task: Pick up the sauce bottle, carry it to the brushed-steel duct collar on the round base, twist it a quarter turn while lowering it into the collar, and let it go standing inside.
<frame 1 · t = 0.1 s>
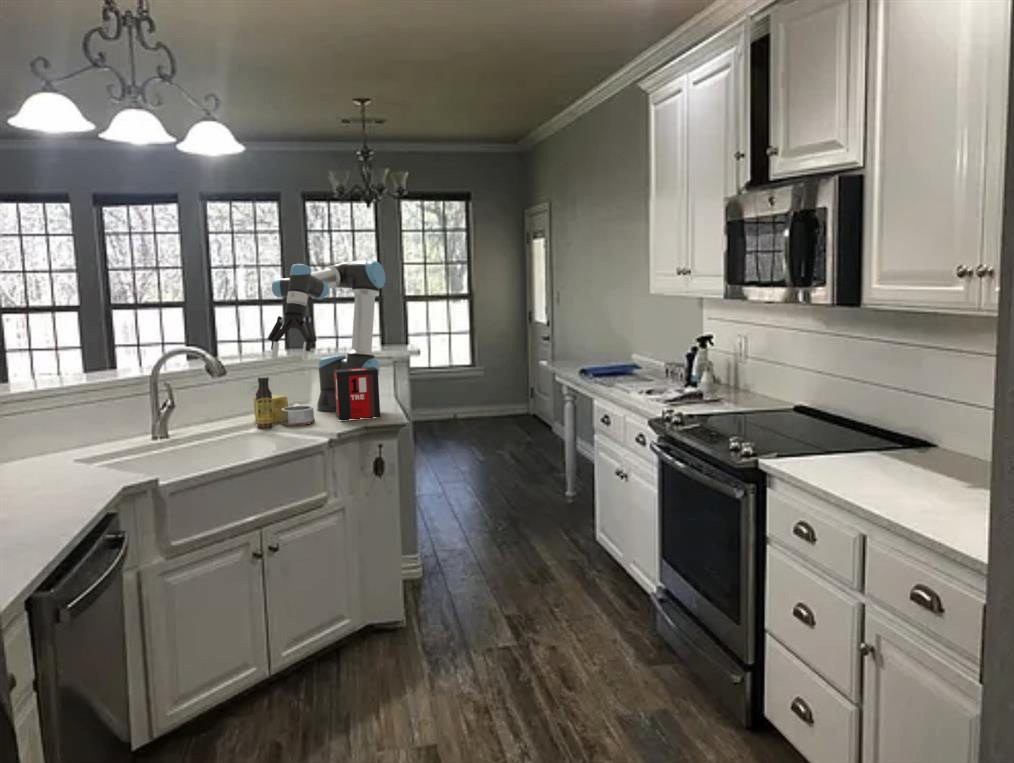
hand: (289, 359, 323), 28 cm above the worktop, tool tilted 20°, fingers open, 13 cm apart
duct collar: (297, 414, 345), on the duct base, point 4 cm above the worktop
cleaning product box: (358, 418, 352), on the worktop
sauce bottle: (265, 427, 339), on the worktop
cheese: (271, 420, 353), on the worktop
duct base: (298, 422, 345), on the worktop
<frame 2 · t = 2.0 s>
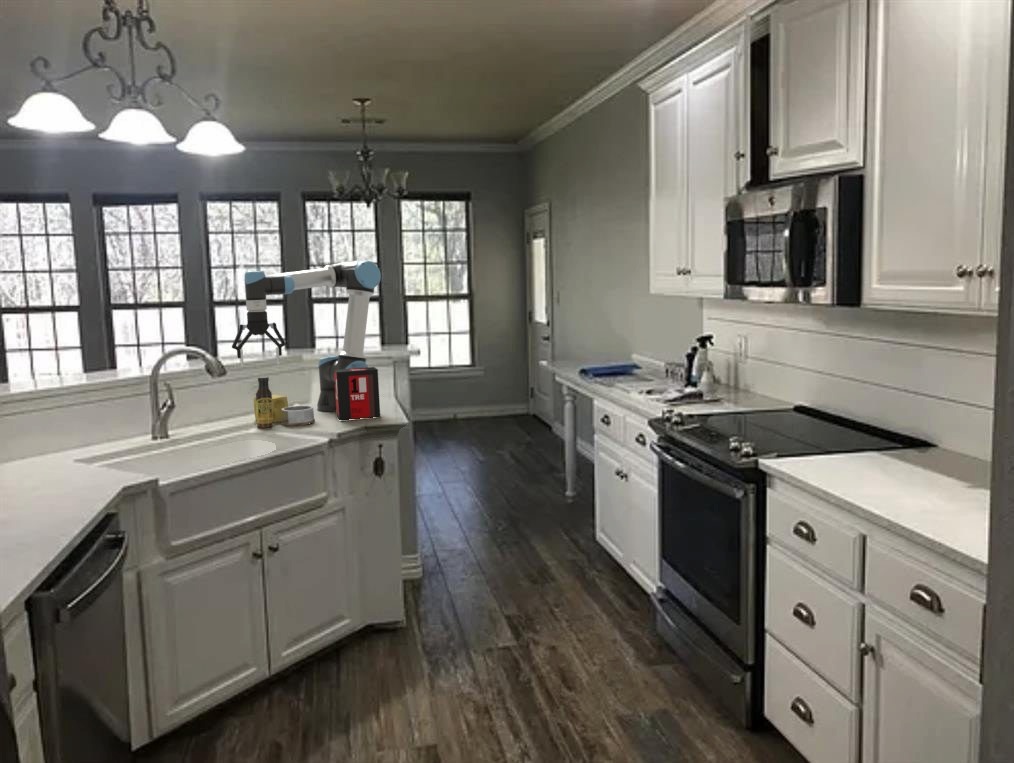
hand: (260, 365, 336), 24 cm above the worktop, tool pointing down, fingers open, 13 cm apart
nothing on the worktop moved.
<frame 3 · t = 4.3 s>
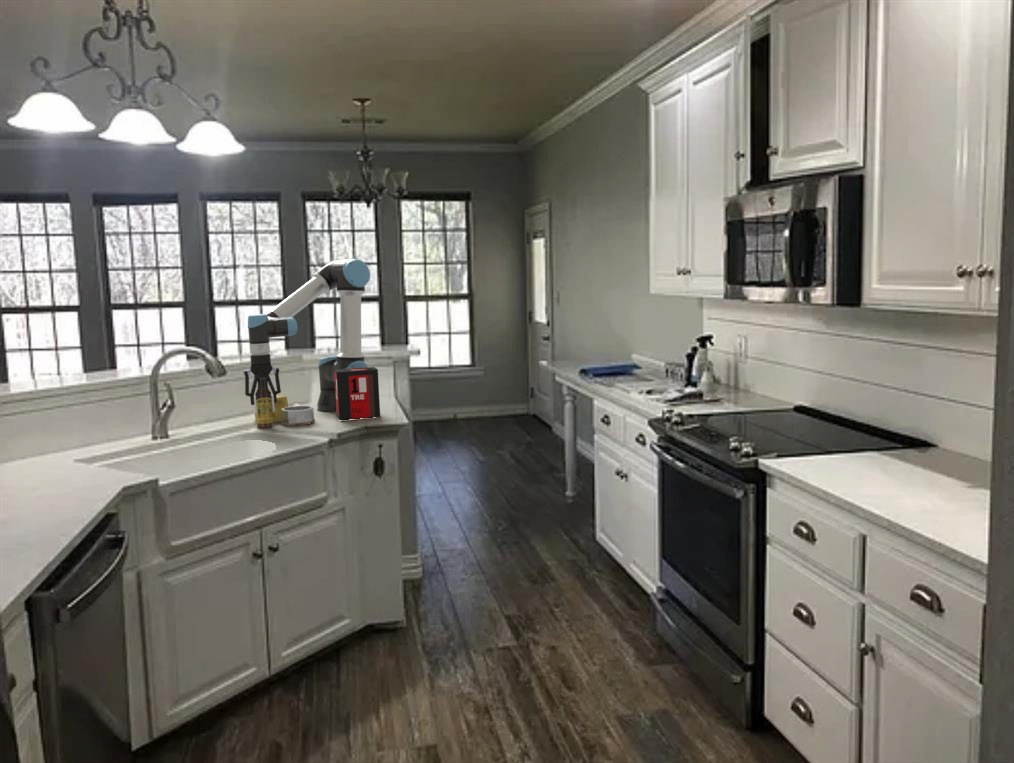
hand: (264, 412, 339), 6 cm above the worktop, tool pointing down, fingers closed on sauce bottle, 6 cm apart
sauce bottle: (265, 427, 339), on the worktop, touching gripper
everything else where it was.
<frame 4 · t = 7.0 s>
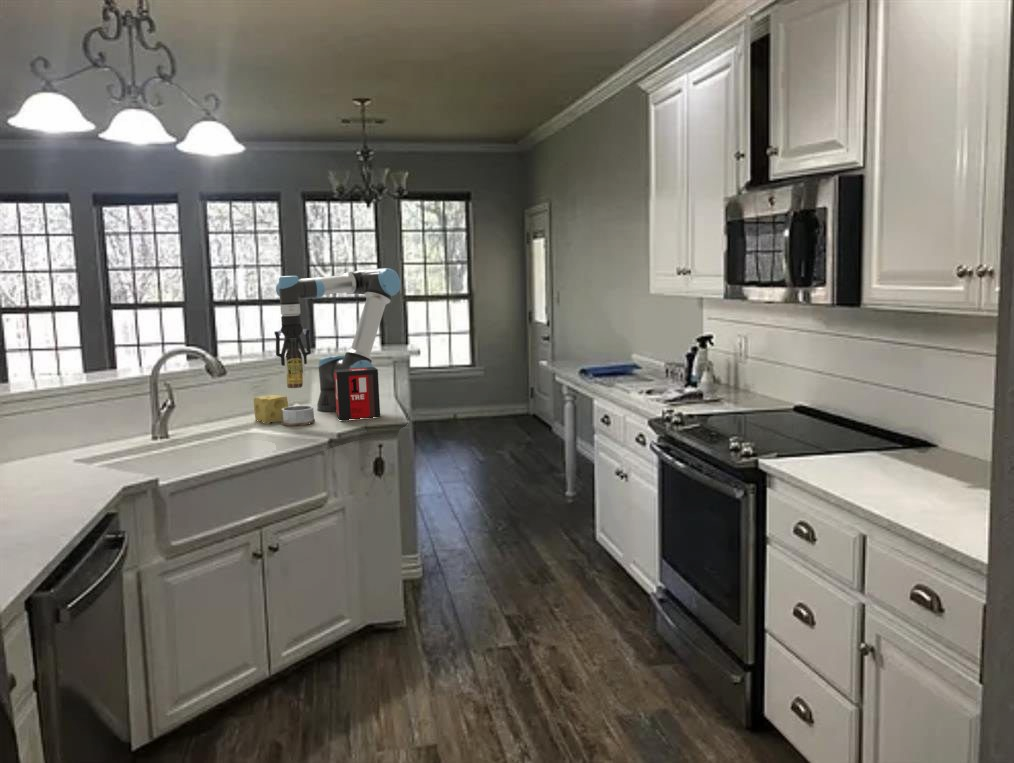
hand: (294, 372, 342), 20 cm above the worktop, tool pointing down, fingers closed on sauce bottle, 6 cm apart
sauce bottle: (295, 387, 343), point 14 cm above the worktop, touching gripper
everything else where it was.
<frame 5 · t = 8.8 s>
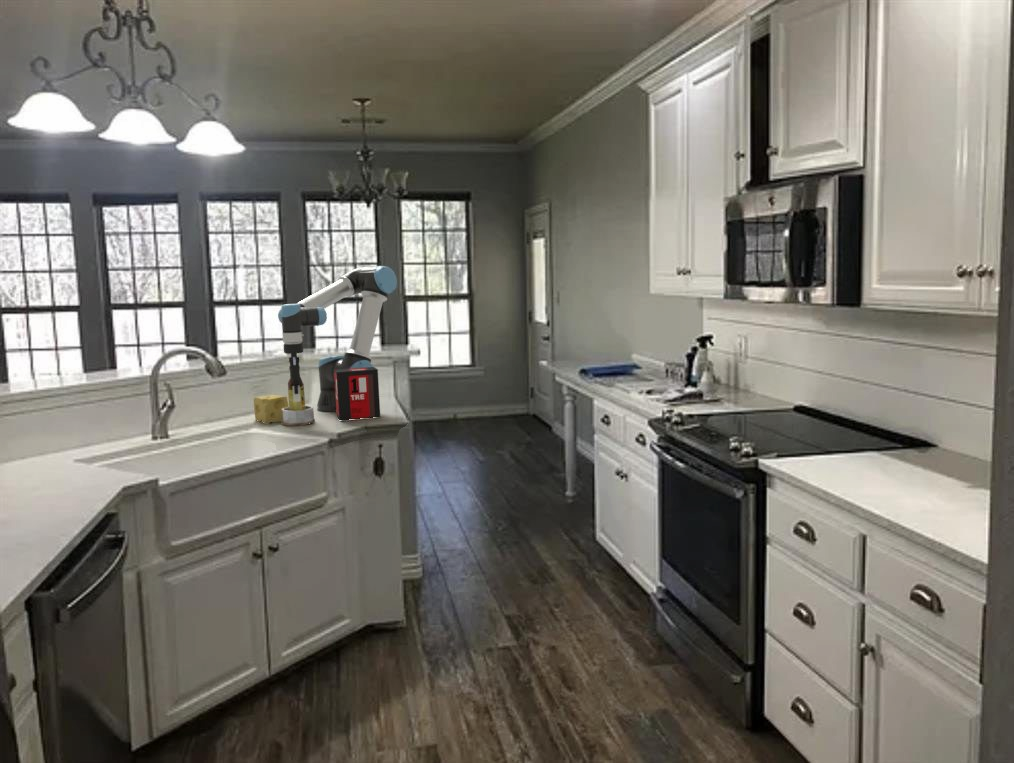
hand: (296, 400, 344), 9 cm above the worktop, tool pointing down, fingers closed on sauce bottle, 6 cm apart
sauce bottle: (297, 415, 345), point 3 cm above the worktop, touching gripper
everything else where it was.
when the fingers open (8 cm above the worktop, at t = 10.0 s): sauce bottle drops 1 cm, resting on duct base.
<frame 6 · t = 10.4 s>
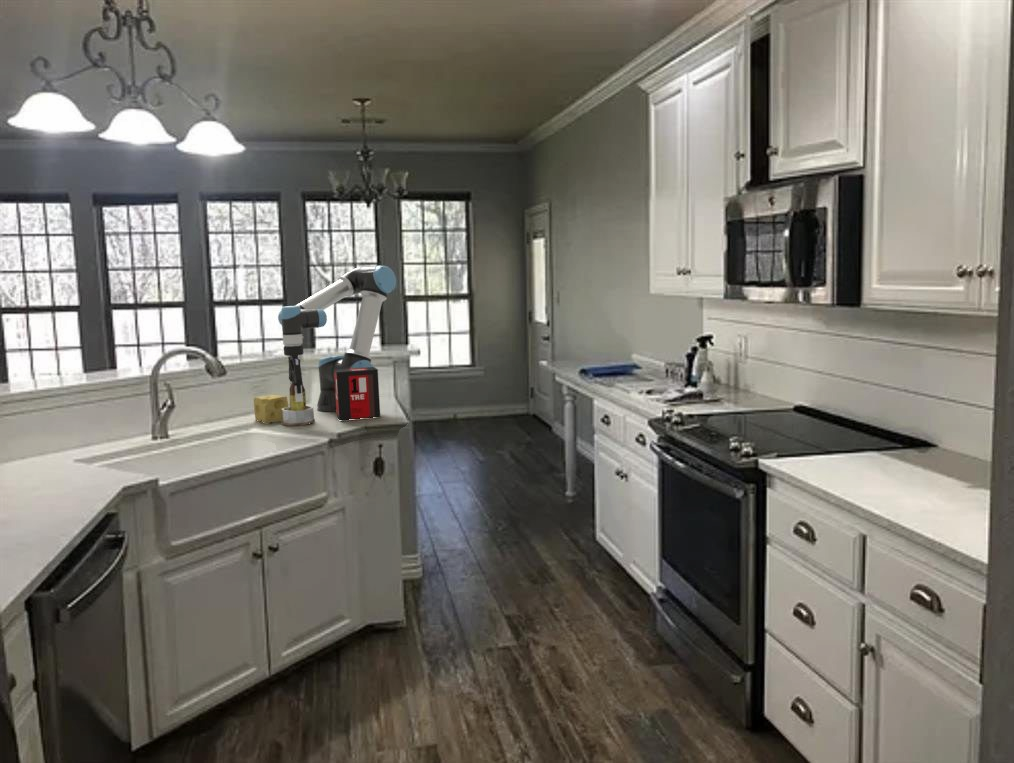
hand: (296, 399, 344), 10 cm above the worktop, tool pointing down, fingers open, 11 cm apart
sauce bottle: (298, 420, 345), point 1 cm above the worktop, touching duct base
everything else where it was.
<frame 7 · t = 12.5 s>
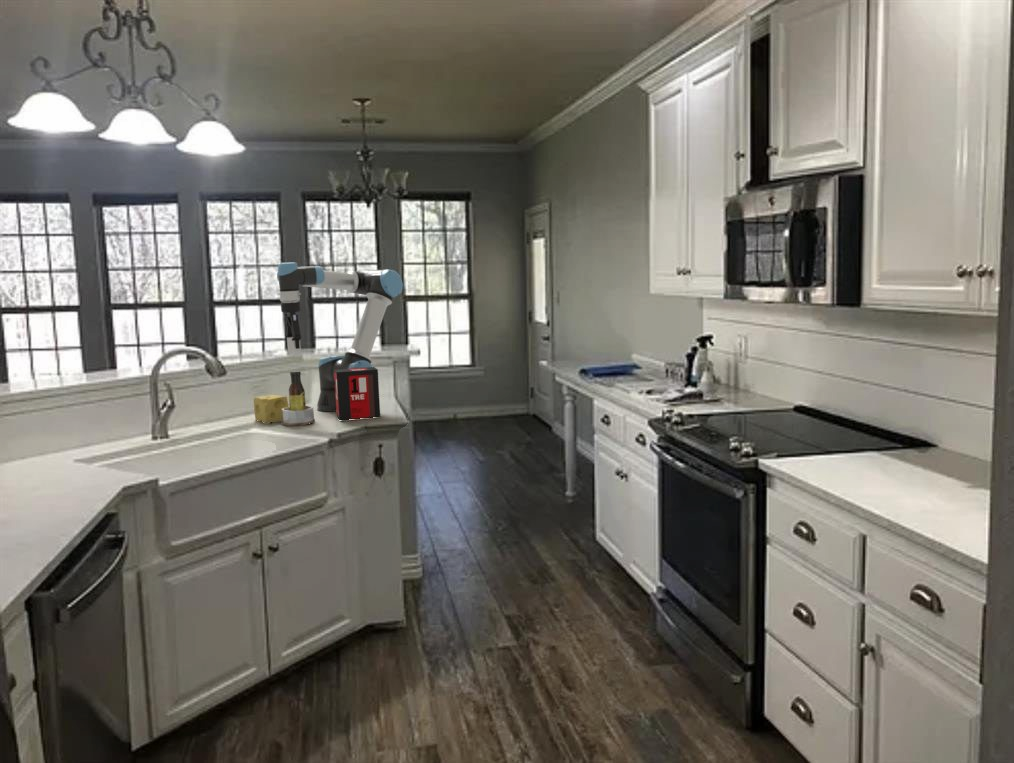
hand: (294, 355, 343), 27 cm above the worktop, tool pointing down, fingers open, 13 cm apart
nothing on the worktop moved.
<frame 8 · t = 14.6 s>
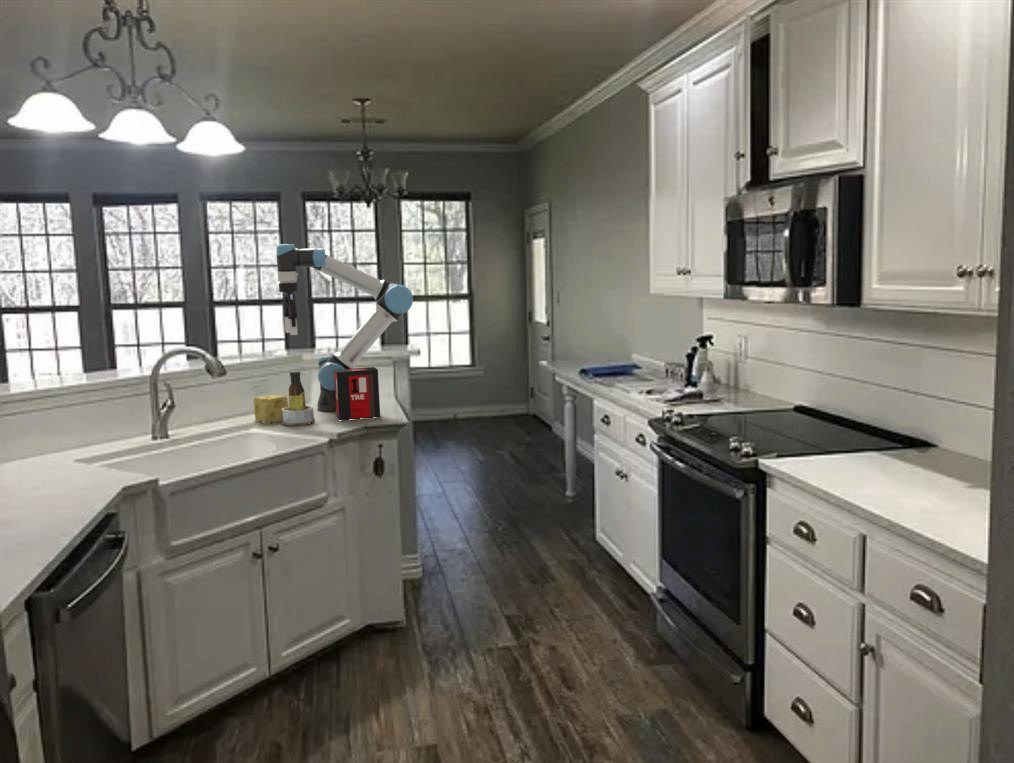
hand: (291, 333, 356), 35 cm above the worktop, tool pointing down, fingers open, 13 cm apart
nothing on the worktop moved.
at the end: sauce bottle 0.2 cm off-centre on the duct collar, point 0.8 cm above the duct collar's base; sauce bottle tilted 0°; the gripper is holding nothing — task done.
